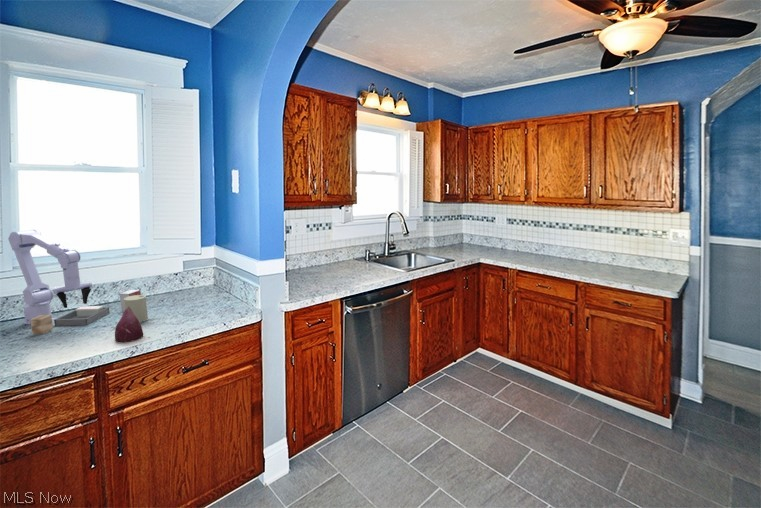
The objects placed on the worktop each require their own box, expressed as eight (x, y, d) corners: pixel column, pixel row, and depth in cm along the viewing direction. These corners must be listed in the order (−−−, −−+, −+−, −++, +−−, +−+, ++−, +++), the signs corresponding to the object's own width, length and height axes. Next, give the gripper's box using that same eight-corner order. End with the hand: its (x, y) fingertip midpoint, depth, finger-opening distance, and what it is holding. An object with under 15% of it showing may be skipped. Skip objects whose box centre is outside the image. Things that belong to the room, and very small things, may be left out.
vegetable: (124, 341, 176) (121, 307, 177) (148, 337, 177) (144, 304, 178) (109, 344, 166) (106, 309, 167) (135, 341, 167) (131, 305, 168)
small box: (130, 313, 203) (128, 293, 201) (121, 313, 204) (119, 293, 202) (142, 309, 211) (140, 289, 209) (133, 308, 212) (131, 289, 210)
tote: (55, 327, 184) (54, 319, 184) (80, 314, 202) (79, 307, 201) (87, 326, 185) (86, 319, 185) (109, 313, 203) (108, 307, 202)
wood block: (32, 334, 175) (30, 319, 174) (42, 329, 181) (40, 315, 180) (43, 334, 175) (41, 319, 174) (53, 329, 181) (51, 314, 180)
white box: (76, 317, 196) (75, 309, 195) (82, 314, 201) (81, 306, 200) (98, 316, 197) (97, 308, 196) (104, 313, 201) (103, 306, 201)
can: (151, 320, 194) (148, 296, 192) (129, 325, 187) (126, 300, 185) (144, 315, 200) (142, 292, 198) (123, 320, 194) (121, 296, 191)
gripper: (55, 281, 174) (59, 311, 177) (93, 275, 186) (97, 303, 189) (49, 279, 178) (53, 308, 181) (87, 273, 190) (90, 300, 193)
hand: (75, 305), depth 185 cm, fingers open, 7 cm apart
